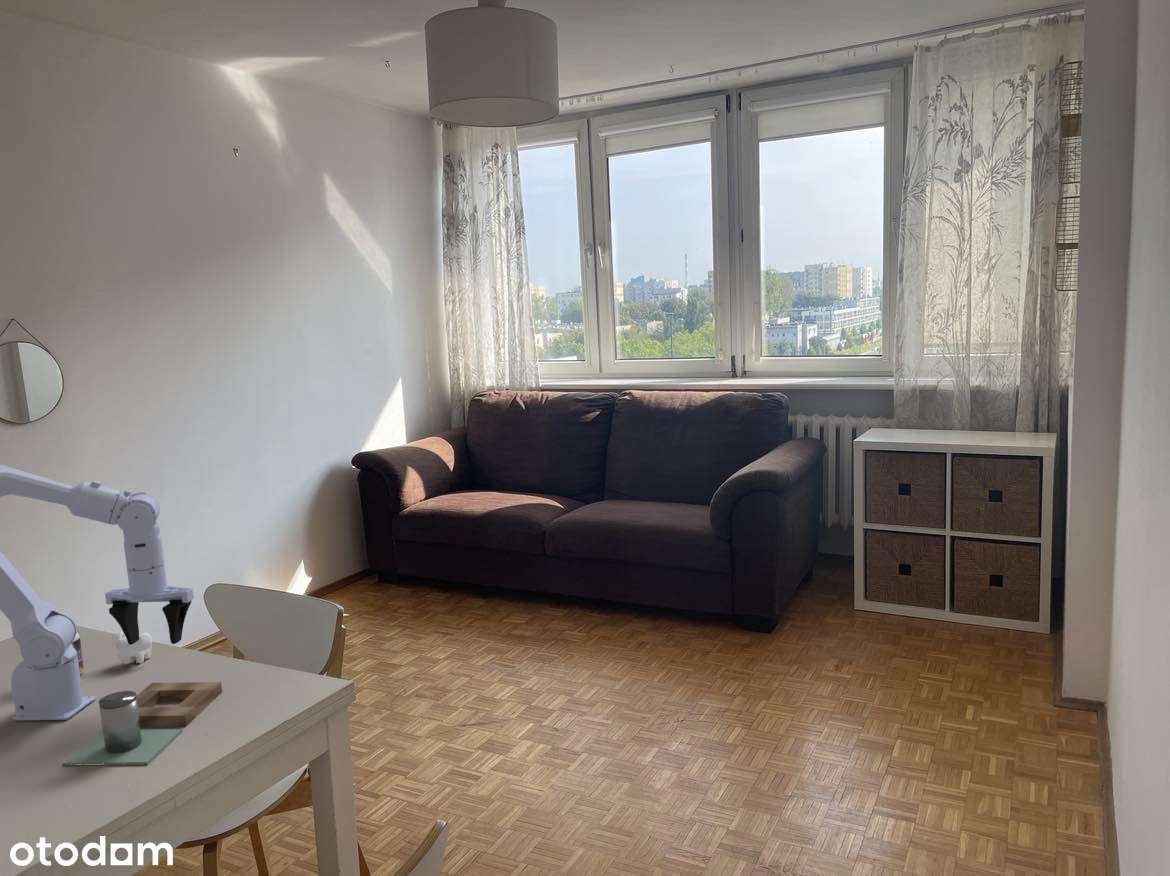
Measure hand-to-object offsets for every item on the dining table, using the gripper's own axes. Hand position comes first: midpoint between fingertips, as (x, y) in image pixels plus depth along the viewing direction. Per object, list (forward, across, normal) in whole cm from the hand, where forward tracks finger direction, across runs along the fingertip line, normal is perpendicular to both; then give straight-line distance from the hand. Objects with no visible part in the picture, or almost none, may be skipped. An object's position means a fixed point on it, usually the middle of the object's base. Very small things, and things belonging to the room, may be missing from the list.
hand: (155, 642), depth 152 cm
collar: (+9, +4, -6) cm, 12 cm away
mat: (+9, +5, -19) cm, 21 cm away
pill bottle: (+10, -23, +8) cm, 26 cm away
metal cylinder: (+9, +5, -19) cm, 21 cm away
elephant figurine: (+10, -13, +14) cm, 21 cm away
